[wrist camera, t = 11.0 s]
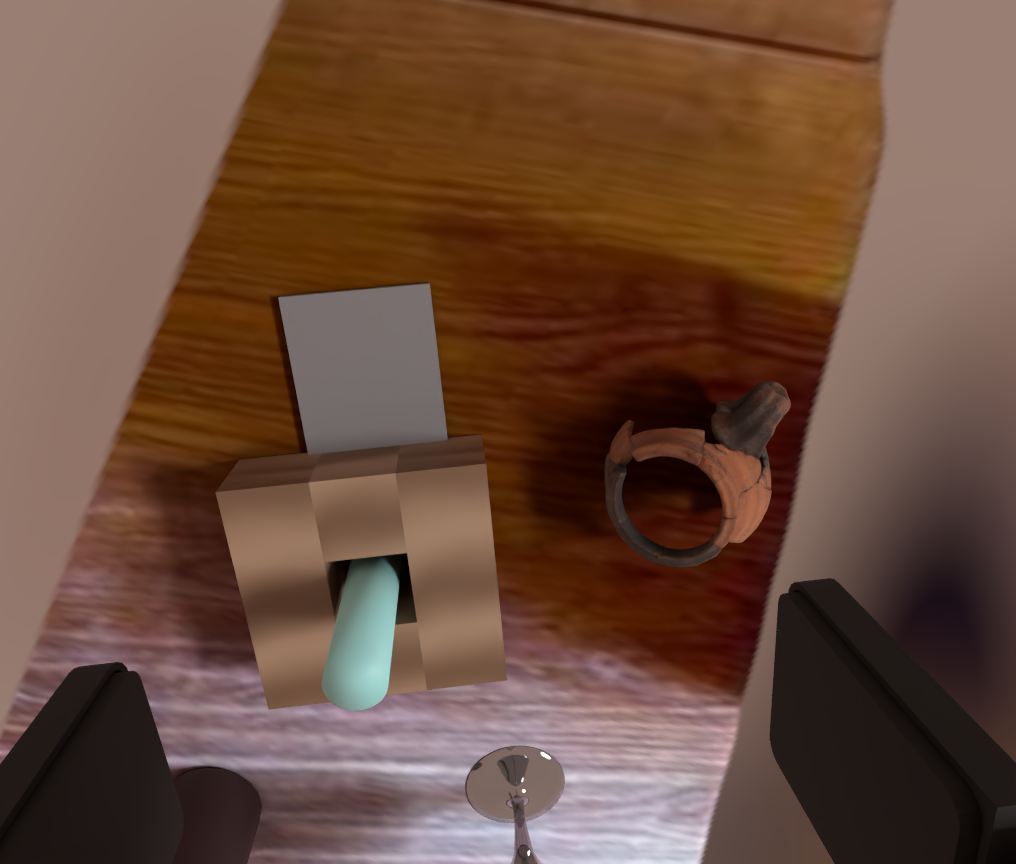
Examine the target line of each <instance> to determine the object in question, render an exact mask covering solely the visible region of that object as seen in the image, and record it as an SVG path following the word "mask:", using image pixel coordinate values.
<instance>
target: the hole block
mask: <svg viewBox="0 0 1016 864" xmlns="http://www.w3.org/2000/svg"><path fill="white" fill-rule="evenodd" d="M216 496H217V501H218V505H219V509H220V513H221V517H222V521H223V525H224V529H225V533H226V537H227V541H228V545H229V550H230V554H231V558H232V562H233V566H234V570H235V574H236V578H237V582H238V586H239V590H240V594H241V598H242V603H243V607H244V611H245V615H246V619H247V623H248V627H249V631H250V635H251V639H252V643H253V647H254V652H255V656H256V660H257V664H258V668H259V672H260V676H261V680H262V684H263V688H264V692H265V696H266V701H267V705H268V709H276V708H285V707H293V706H301V705H309V704H317V703H325V702H330V701H329V700H328V699H327V698H326V696H325V695H324V693H323V690H322V685H321V684H322V677H323V672H324V668H325V664H326V660H327V656H328V652H329V648H330V644H331V639H332V635H333V631H334V627H335V623H336V619H337V615H338V611H339V607H340V602H341V598H342V594H343V590H344V586H345V582H346V577H345V571H344V566H343V560H349V559H358V558H367V557H375V556H384V555H393V554H402V553H407V556H408V563H409V570H410V577H411V581H406V582H400V583H399V592H398V602H397V611H396V620H395V629H394V638H393V648H392V657H391V666H390V675H389V685H388V690H387V693H386V695H390V694H399V693H407V692H415V691H423V690H431V689H439V688H448V687H456V686H464V685H472V684H480V683H488V682H496V681H505V680H507V677H506V666H505V656H504V646H503V635H502V625H501V615H500V604H499V594H498V584H497V573H496V563H495V553H494V542H493V532H492V522H491V511H490V501H489V491H488V480H487V470H486V461H485V454H484V447H483V441H482V434H481V435H472V436H462V437H452V438H448V440H446V441H437V442H427V443H417V444H408V445H398V446H389V447H379V448H369V449H360V450H350V451H340V452H331V453H321V454H311V455H308V452H307V453H298V454H288V455H278V456H269V457H259V458H249V459H240V460H239V461H238V462H237V463H236V465H235V466H234V468H233V469H232V470H231V472H230V473H229V474H228V476H227V477H226V479H225V480H224V481H223V483H222V484H221V485H220V487H219V488H218V490H217V491H216Z"/></svg>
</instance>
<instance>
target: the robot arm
mask: <svg viewBox="0 0 1016 864" xmlns="http://www.w3.org/2000/svg"><path fill="white" fill-rule="evenodd" d="M770 741H771V747H772V751H773V754H774V757H775V759H776V761H777V763H778V765H779V767H780V769H781V771H782V772H783V774H784V776H785V778H786V779H787V781H788V783H789V784H790V786H791V788H792V790H793V792H794V793H795V795H796V797H797V798H798V800H799V802H800V804H801V806H802V807H803V809H804V811H805V812H806V814H807V816H808V818H809V819H810V821H811V823H812V825H813V827H814V828H815V830H816V832H817V834H818V835H819V837H820V839H821V841H822V842H823V844H824V846H825V847H826V849H827V851H828V853H829V855H830V856H831V858H832V860H833V862H834V863H835V864H1016V763H1015V762H1014V761H1013V760H1012V759H1011V757H1009V755H1008V754H1007V753H1006V752H1005V751H1003V749H1002V748H1001V747H1000V746H999V745H998V744H997V743H996V742H995V741H994V740H993V739H992V738H991V737H990V736H989V735H988V734H987V733H986V732H985V731H984V730H983V729H982V728H981V727H980V726H979V725H978V724H977V723H976V722H975V721H974V720H973V719H972V718H971V717H970V716H969V715H968V714H967V713H966V712H965V710H964V709H963V708H962V707H961V706H960V705H959V704H958V703H957V702H956V701H955V700H954V699H953V698H952V697H951V696H950V695H949V694H948V693H947V692H946V691H945V690H944V689H943V688H942V687H941V686H940V685H939V684H938V683H937V682H936V681H935V680H934V679H933V678H932V677H931V676H930V675H929V674H928V673H927V672H926V671H925V670H924V669H922V668H921V667H920V666H919V665H918V664H917V663H916V662H915V661H914V660H913V659H912V658H911V657H910V655H908V653H907V652H906V651H905V650H904V649H903V648H902V647H901V646H900V645H899V644H898V643H897V642H896V641H895V640H894V639H893V638H892V637H891V636H890V635H889V634H888V633H887V632H886V631H885V630H884V629H883V628H882V627H881V626H880V625H879V624H878V623H877V622H876V621H875V620H874V619H873V618H872V617H871V616H870V615H869V613H867V611H866V610H865V609H864V608H863V607H862V606H861V605H860V604H859V603H858V602H857V601H856V600H855V599H854V598H853V597H852V596H851V595H850V594H849V593H848V592H847V591H846V590H845V589H844V588H843V587H842V586H841V585H840V584H839V583H838V582H837V581H835V580H834V579H830V578H829V579H819V580H812V581H803V582H795V583H793V584H791V587H790V588H789V593H786V594H782V595H781V596H780V598H779V602H778V616H777V631H776V647H775V662H774V677H773V693H772V708H771V724H770ZM183 827H184V815H183V810H182V807H181V804H180V800H179V797H178V794H177V791H176V788H175V785H174V782H173V778H172V775H171V772H170V769H169V766H168V763H167V759H166V756H165V753H164V750H163V747H162V744H161V741H160V737H159V734H158V731H157V728H156V725H155V722H154V719H153V715H152V712H151V709H150V706H149V703H148V700H147V697H146V693H145V690H144V687H143V684H142V681H141V678H140V676H139V674H138V673H137V672H135V671H128V670H127V667H126V666H125V665H124V664H123V663H119V662H115V663H106V664H98V665H89V666H81V667H77V668H74V669H73V670H72V671H71V672H70V673H69V674H68V675H67V677H66V678H65V679H64V681H63V682H62V683H61V685H60V686H59V687H58V689H57V690H56V691H55V693H54V694H53V695H52V697H51V698H50V699H49V701H48V702H47V703H46V705H45V706H44V707H43V708H42V710H41V711H40V712H39V714H38V715H37V716H36V718H35V719H34V720H33V722H32V723H31V724H30V726H29V727H28V728H27V730H26V731H25V732H24V734H23V735H22V736H21V738H20V739H19V740H18V742H17V743H16V744H15V746H14V747H13V748H12V749H11V751H10V752H9V753H8V755H7V756H6V757H5V759H4V760H3V761H2V763H1V764H0V864H172V861H173V859H174V856H175V854H176V851H177V849H178V846H179V844H180V841H181V838H182V834H183Z"/></svg>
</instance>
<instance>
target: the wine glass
mask: <svg viewBox="0 0 1016 864" xmlns="http://www.w3.org/2000/svg"><path fill="white" fill-rule="evenodd" d="M564 784H565V777H564V773H563V769H562V767H561V766H560V764H559V763H558V761H557V760H556V759H555V758H554V757H552V756H551V755H550V754H548V753H546V752H545V751H543V750H540V749H537V748H534V747H527V746H513V747H507V748H503V749H499V750H497V751H494V752H492V753H490V754H488V755H487V756H485V757H484V758H482V759H481V760H480V761H479V762H478V763H477V764H476V765H475V766H474V767H473V769H472V770H471V772H470V774H469V776H468V779H467V784H466V791H467V796H468V799H469V801H470V803H471V805H472V806H473V808H474V809H475V810H476V811H477V812H478V813H480V814H481V815H483V816H484V817H486V818H488V819H491V820H494V821H497V822H503V823H514V824H515V842H514V855H513V859H512V862H511V864H543V863H542V862H541V861H540V860H539V859H538V858H537V856H536V855H535V853H534V850H533V848H532V844H531V841H530V837H529V833H528V829H527V825H526V821H529V820H532V819H535V818H537V817H539V816H541V815H543V814H544V813H546V812H547V811H549V810H550V809H551V808H552V807H553V806H554V805H555V804H556V803H557V802H558V800H559V798H560V797H561V795H562V792H563V790H564Z"/></svg>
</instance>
